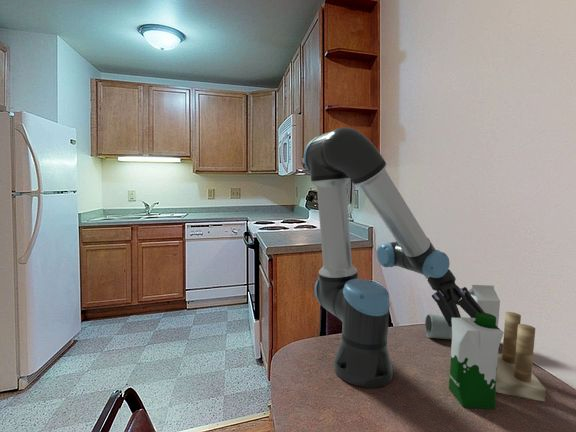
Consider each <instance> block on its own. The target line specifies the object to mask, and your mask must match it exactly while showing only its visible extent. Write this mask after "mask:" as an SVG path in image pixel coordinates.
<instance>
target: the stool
mask: <svg viewBox="0 0 576 432" xmlns="http://www.w3.org/2000/svg"><path fill="white" fill-rule="evenodd" d="M521 318H522V316H521V314H520V313H516V312H512V311H506V312H505V316H504V328H503V332H504V333H503V338H502V339H503V341H502V353H498V362H497V375H496V393H499V394H502V395H503V394H504V395H509V396H515V397H518V398H519V397H520V398H523V399H524V398H525V399H528V400H529V399H530V400H534V401H539V402H546V393H547V389H546V387H545V386H544V385H543V384H542V382H541V381H540V380H539V379H538V378H537V376H536V375H535V374H534V373H533V361H534V349H535V337H536V327H535V326H532V325H529V324H525V323H521Z"/></svg>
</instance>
